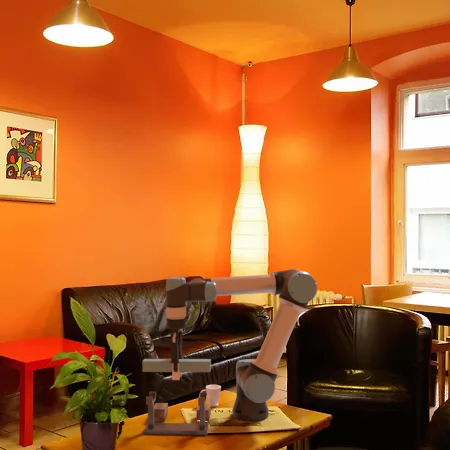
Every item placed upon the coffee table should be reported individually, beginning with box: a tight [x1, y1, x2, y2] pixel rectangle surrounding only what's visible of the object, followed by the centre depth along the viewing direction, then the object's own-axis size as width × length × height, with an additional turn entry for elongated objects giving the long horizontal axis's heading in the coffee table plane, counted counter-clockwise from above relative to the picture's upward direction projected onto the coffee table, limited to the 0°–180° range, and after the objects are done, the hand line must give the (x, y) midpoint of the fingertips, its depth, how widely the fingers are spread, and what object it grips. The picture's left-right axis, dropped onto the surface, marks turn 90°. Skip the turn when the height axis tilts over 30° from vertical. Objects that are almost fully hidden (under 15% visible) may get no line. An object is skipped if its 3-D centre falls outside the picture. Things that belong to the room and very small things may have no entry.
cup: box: [198, 384, 222, 407], centre depth 255 cm, size 7×10×8 cm
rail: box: [141, 358, 212, 373], centre depth 224 cm, size 26×4×4 cm, turn 86°
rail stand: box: [143, 391, 210, 436], centre depth 224 cm, size 24×8×14 cm, turn 86°
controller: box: [117, 420, 126, 437], centre depth 219 cm, size 4×12×10 cm, turn 25°
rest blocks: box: [154, 402, 212, 423], centre depth 238 cm, size 23×8×5 cm, turn 86°
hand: (177, 377), depth 224 cm, fingers closed on rail, 4 cm apart
